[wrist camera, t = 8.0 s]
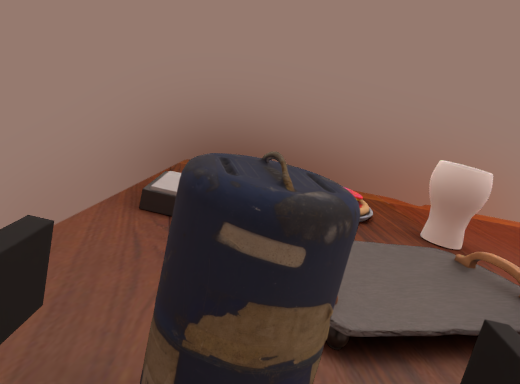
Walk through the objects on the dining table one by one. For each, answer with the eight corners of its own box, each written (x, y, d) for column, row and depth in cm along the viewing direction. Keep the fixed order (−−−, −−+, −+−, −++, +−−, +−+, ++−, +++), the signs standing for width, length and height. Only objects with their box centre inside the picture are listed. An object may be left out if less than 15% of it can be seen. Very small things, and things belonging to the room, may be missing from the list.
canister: (285, 407, 32) (357, 160, 28) (289, 537, 23) (396, 196, 19) (152, 376, 32) (204, 123, 28) (101, 495, 23) (168, 142, 19)
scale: (138, 208, 66) (143, 184, 65) (162, 187, 80) (166, 167, 79) (233, 230, 66) (239, 207, 66) (240, 205, 80) (245, 186, 79)
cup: (447, 253, 81) (476, 172, 78) (401, 230, 90) (425, 156, 86) (480, 252, 88) (507, 177, 84) (434, 231, 96) (457, 162, 93)
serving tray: (447, 265, 75) (459, 230, 73) (590, 351, 54) (611, 304, 53) (225, 250, 58) (235, 204, 57) (310, 365, 38) (330, 297, 37)
